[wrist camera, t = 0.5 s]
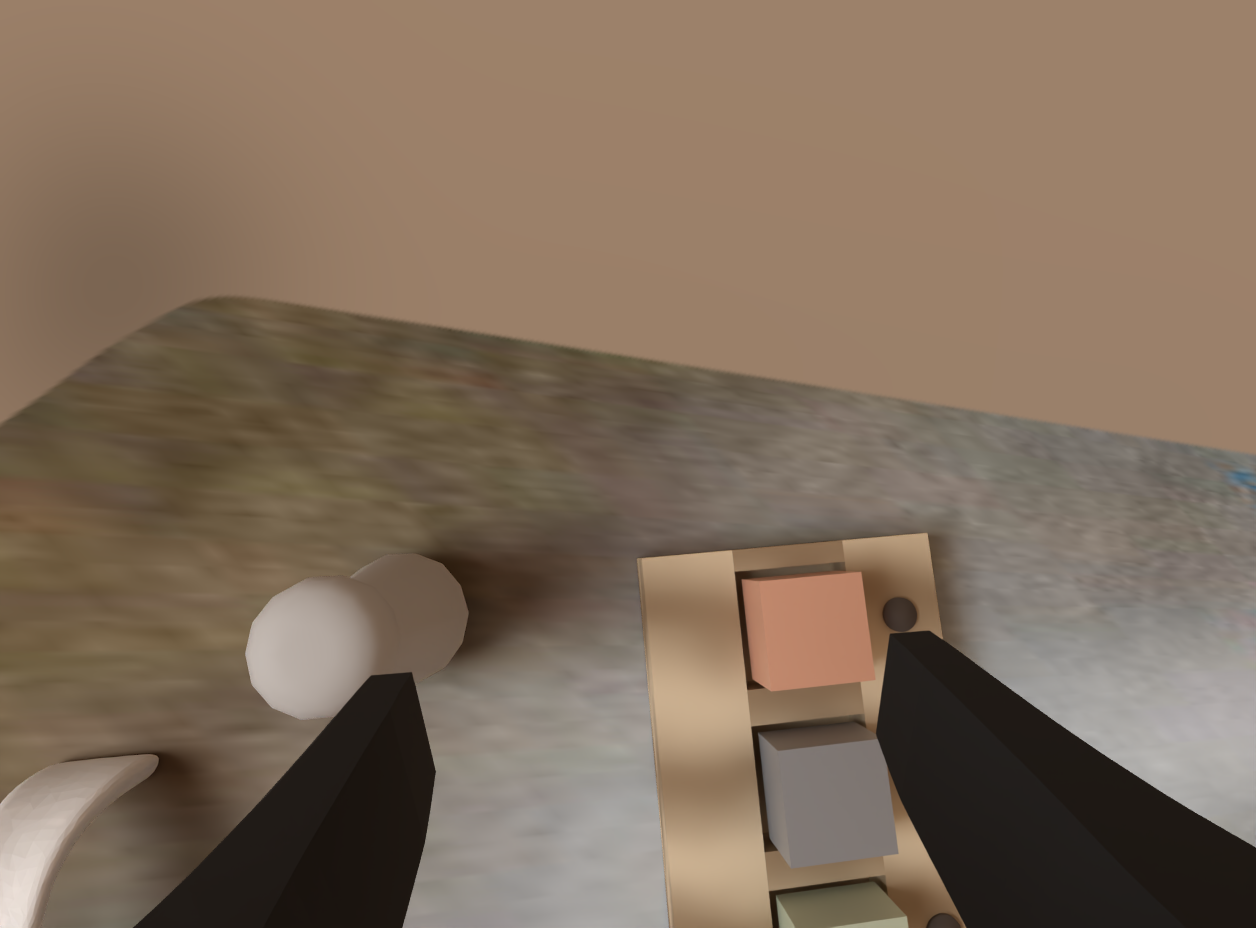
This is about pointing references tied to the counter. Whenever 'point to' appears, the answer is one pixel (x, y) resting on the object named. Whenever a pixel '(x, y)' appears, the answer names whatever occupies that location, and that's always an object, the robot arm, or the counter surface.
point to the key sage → (840, 908)
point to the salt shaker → (354, 633)
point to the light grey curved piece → (54, 826)
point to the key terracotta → (808, 630)
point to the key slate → (827, 794)
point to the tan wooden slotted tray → (766, 728)
